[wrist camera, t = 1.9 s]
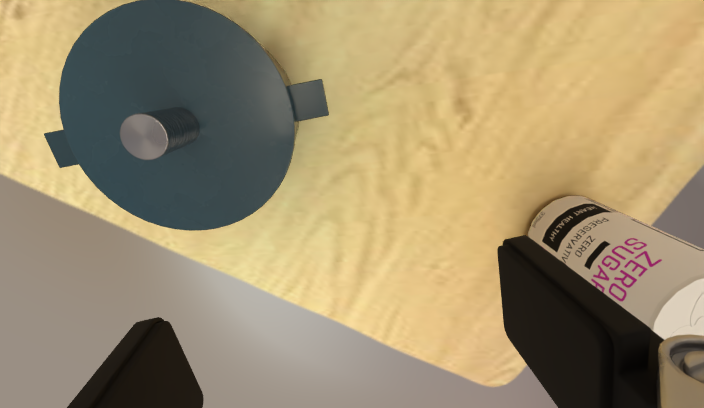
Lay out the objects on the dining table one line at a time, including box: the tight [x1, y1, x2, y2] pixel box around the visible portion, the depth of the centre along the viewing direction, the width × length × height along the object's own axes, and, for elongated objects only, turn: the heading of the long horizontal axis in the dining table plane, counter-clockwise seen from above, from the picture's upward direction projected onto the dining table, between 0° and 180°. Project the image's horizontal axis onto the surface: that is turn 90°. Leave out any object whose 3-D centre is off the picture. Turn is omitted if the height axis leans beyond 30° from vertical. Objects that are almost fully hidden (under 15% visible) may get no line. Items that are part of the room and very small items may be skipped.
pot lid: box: [59, 0, 296, 230], centre depth 21 cm, size 15×15×6 cm
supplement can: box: [528, 196, 704, 340], centre depth 30 cm, size 8×8×15 cm
